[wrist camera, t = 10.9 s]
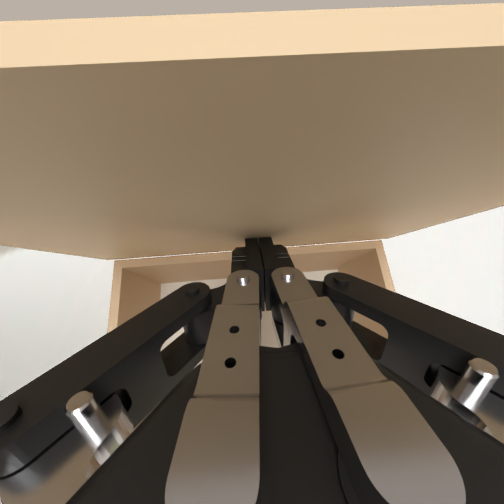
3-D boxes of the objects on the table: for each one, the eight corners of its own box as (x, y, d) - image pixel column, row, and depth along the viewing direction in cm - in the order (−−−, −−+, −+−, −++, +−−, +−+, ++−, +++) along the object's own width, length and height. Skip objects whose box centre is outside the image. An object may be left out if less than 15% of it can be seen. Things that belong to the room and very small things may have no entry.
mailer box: (151, 434, 20) (90, 507, 12) (157, 279, 24) (114, 260, 16) (370, 411, 21) (442, 466, 13) (340, 264, 25) (381, 240, 17)
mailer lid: (-980, 112, 2) (-940, 45, 2) (107, 259, 16) (107, 251, 16) (1174, 15, 3) (1142, -28, 3) (387, 238, 17) (386, 230, 17)
